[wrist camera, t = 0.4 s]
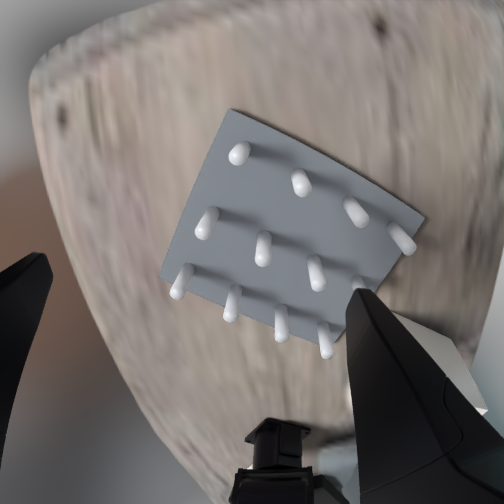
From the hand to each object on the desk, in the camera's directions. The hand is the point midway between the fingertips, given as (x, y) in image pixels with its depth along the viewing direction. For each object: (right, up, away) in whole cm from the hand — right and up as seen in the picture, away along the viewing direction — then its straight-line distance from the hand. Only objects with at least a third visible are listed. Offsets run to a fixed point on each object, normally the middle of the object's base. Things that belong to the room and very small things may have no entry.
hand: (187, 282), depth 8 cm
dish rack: (+4, +1, +15) cm, 16 cm away
